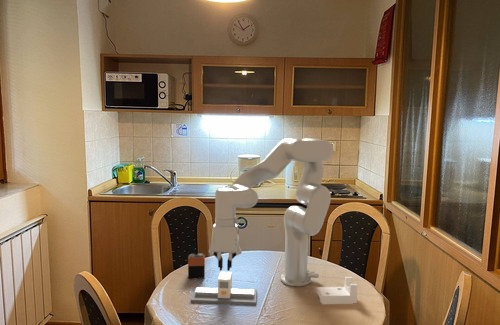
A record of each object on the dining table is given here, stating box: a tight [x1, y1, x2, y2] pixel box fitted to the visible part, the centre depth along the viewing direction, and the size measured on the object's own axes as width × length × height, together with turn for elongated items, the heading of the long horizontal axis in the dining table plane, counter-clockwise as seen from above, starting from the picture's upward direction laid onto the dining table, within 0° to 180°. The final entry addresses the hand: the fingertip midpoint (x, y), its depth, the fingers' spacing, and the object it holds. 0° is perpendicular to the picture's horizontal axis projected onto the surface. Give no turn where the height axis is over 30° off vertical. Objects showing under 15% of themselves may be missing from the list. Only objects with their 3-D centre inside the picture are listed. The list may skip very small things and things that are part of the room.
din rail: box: [195, 287, 255, 298], centre depth 141 cm, size 22×4×2 cm, turn 87°
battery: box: [187, 252, 206, 280], centre depth 159 cm, size 4×7×10 cm, turn 96°
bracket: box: [317, 276, 358, 305], centre depth 141 cm, size 13×7×8 cm, turn 93°
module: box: [217, 271, 233, 298], centre depth 141 cm, size 4×8×7 cm, turn 177°
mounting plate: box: [190, 286, 258, 306], centre depth 142 cm, size 24×10×1 cm, turn 87°
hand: (224, 268), depth 140 cm, fingers closed
